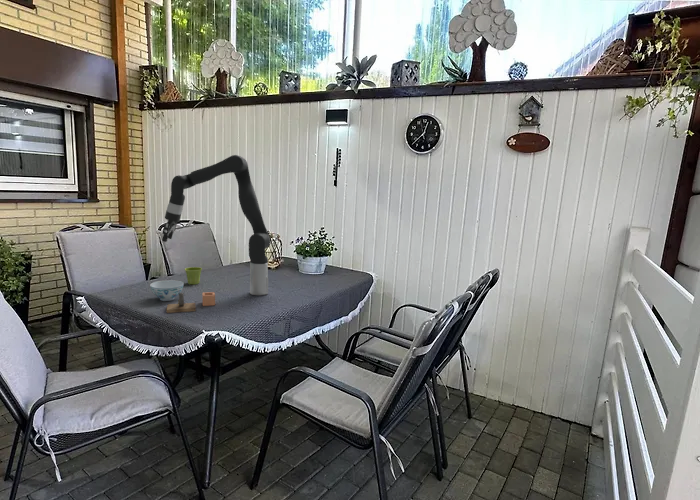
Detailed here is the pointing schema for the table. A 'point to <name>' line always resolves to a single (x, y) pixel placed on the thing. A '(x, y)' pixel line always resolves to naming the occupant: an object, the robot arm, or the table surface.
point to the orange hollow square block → (208, 298)
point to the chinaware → (166, 289)
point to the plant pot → (193, 275)
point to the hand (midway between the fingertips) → (166, 239)
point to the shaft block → (181, 306)
